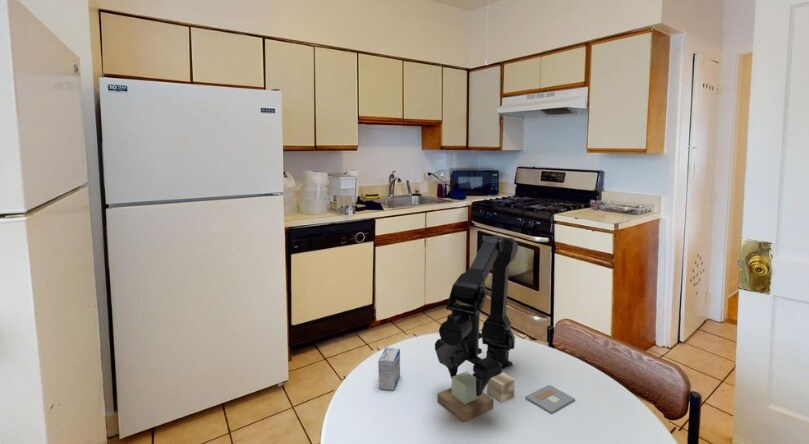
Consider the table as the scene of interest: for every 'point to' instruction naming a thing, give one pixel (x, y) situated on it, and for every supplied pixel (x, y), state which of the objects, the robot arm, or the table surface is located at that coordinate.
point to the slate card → (550, 399)
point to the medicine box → (389, 368)
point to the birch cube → (501, 387)
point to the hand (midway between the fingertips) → (465, 387)
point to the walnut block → (465, 405)
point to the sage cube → (464, 387)
